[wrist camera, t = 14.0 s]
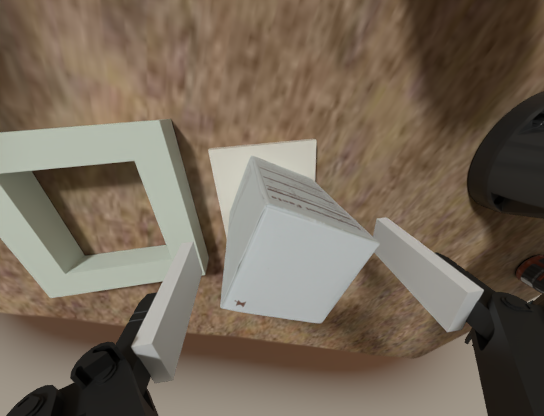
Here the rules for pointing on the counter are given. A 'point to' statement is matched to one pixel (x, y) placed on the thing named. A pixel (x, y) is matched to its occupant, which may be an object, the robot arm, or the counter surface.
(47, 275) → the holder
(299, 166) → the tile
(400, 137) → the counter surface
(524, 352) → the robot arm
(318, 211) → the supplement box
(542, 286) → the supplement bottle
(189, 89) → the counter surface
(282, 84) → the counter surface
